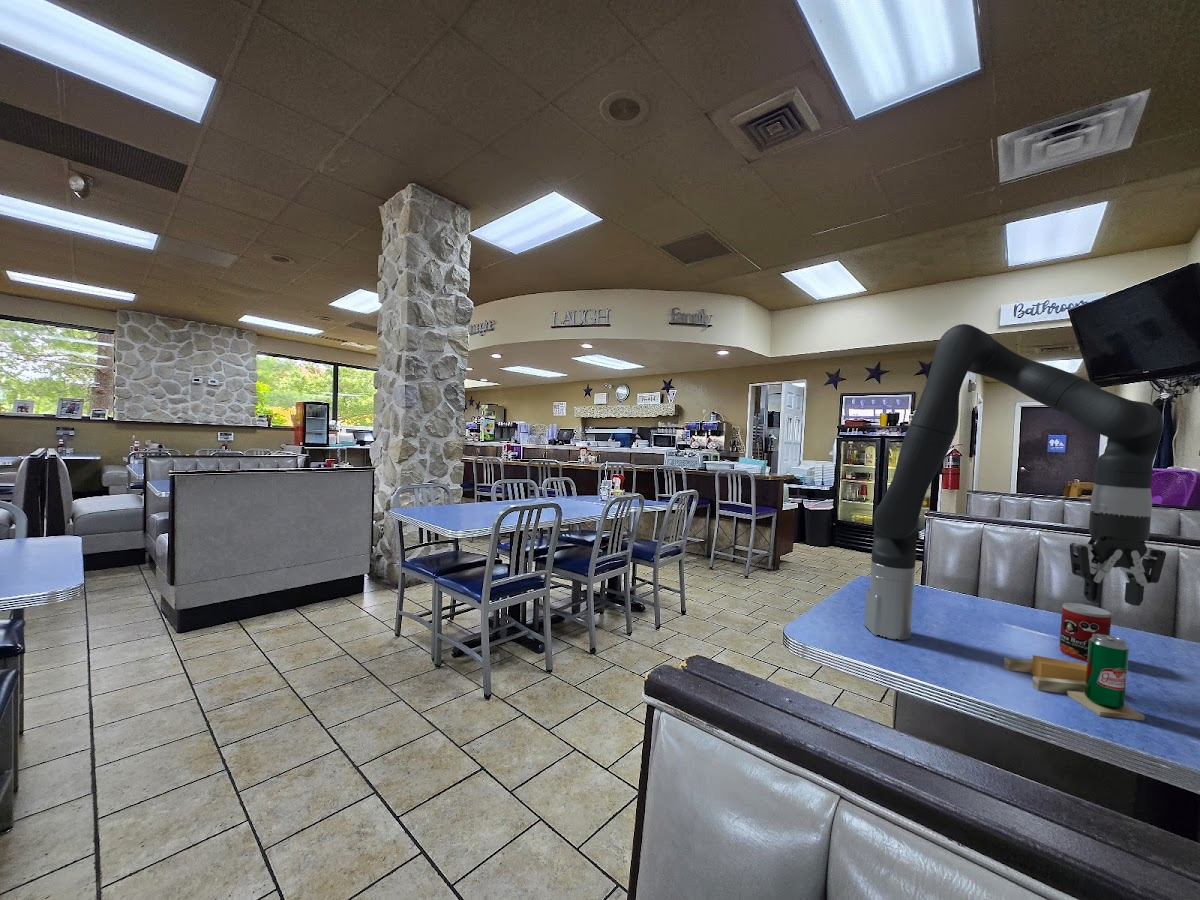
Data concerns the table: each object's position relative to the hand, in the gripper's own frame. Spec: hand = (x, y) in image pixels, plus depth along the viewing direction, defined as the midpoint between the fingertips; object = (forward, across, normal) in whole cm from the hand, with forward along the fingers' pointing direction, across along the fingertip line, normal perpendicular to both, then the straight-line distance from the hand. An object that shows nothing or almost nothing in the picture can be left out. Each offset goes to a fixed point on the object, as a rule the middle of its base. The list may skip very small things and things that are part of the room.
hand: (1112, 602), depth 88 cm
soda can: (+19, 0, 0) cm, 19 cm away
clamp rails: (+20, +1, -9) cm, 22 cm away
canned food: (+20, -15, -24) cm, 35 cm away
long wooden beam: (+20, -1, -9) cm, 22 cm away
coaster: (+20, 0, 0) cm, 20 cm away
